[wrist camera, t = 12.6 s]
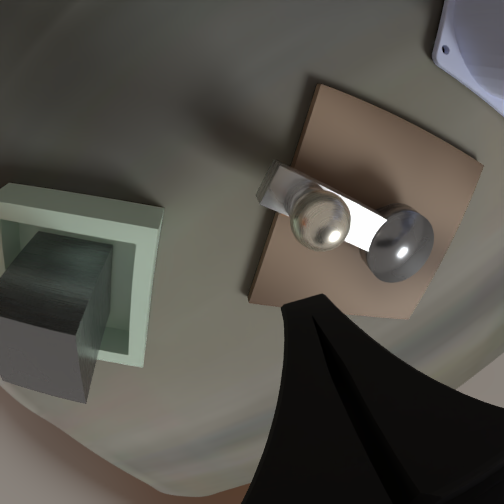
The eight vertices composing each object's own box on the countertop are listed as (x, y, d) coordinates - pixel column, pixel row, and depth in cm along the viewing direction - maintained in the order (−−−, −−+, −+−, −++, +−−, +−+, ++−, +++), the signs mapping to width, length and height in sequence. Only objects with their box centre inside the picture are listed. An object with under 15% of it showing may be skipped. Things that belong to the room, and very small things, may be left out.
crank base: (317, 83, 12) (327, 84, 11) (478, 163, 15) (492, 169, 14) (247, 296, 17) (250, 311, 16) (405, 314, 20) (413, 326, 19)
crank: (431, 220, 15) (479, 260, 11) (394, 277, 16) (432, 325, 13) (285, 135, 12) (320, 159, 8) (244, 215, 13) (260, 267, 10)
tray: (9, 182, 12) (-15, 199, 10) (164, 207, 14) (158, 229, 12) (22, 312, 15) (8, 337, 14) (146, 338, 18) (142, 367, 16)
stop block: (38, 230, 13) (-23, 309, 8) (113, 244, 14) (75, 335, 9) (43, 296, 15) (2, 380, 10) (110, 310, 16) (86, 403, 11)
